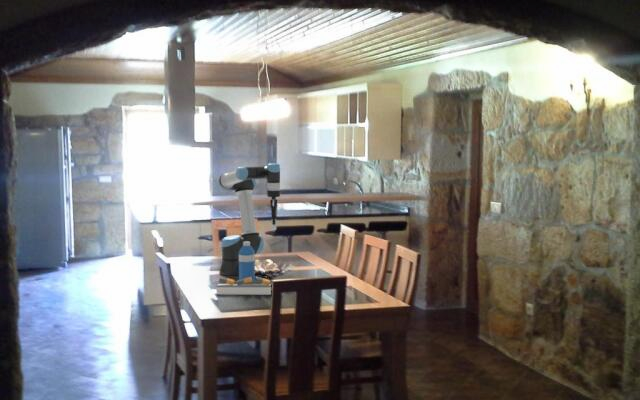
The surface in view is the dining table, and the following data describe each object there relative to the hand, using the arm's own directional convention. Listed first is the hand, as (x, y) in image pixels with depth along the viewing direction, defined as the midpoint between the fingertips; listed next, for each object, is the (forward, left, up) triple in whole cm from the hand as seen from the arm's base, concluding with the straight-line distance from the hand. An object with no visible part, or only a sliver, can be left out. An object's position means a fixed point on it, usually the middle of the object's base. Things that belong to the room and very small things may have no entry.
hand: (274, 229), depth 406 cm
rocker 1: (+25, -25, -25) cm, 43 cm away
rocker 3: (+25, -5, -25) cm, 36 cm away
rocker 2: (+25, -15, -25) cm, 38 cm away
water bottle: (+5, -16, -32) cm, 36 cm away
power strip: (+25, -15, -32) cm, 43 cm away
